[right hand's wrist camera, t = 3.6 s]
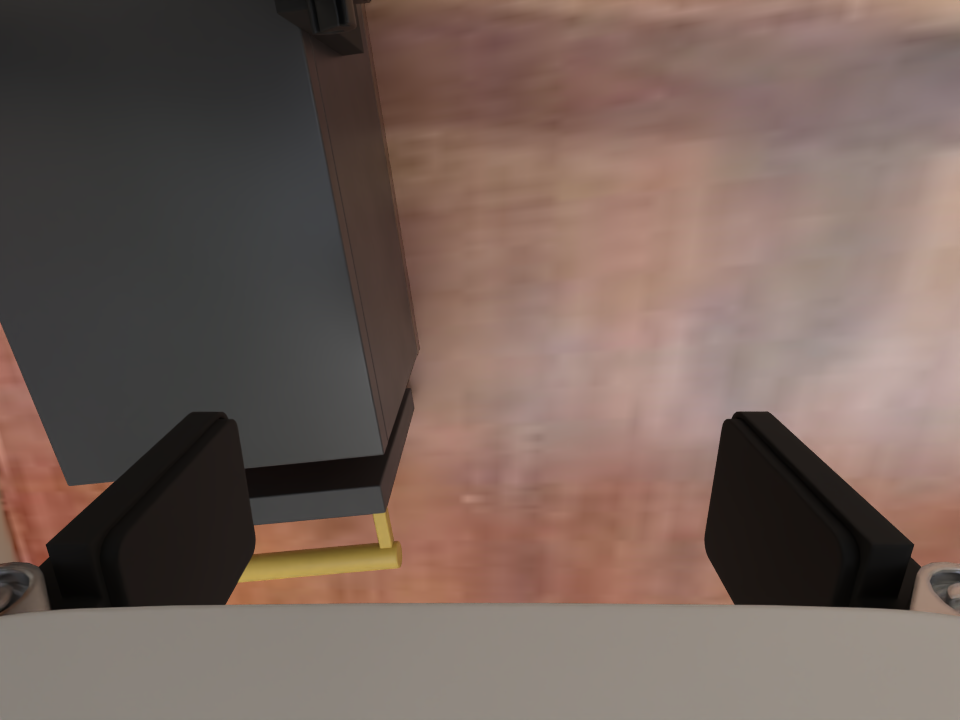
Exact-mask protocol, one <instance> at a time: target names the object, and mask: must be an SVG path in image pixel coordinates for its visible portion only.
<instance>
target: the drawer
mask: <svg viewBox="0 0 960 720" xmlns="http://www.w3.org/2000/svg"><path fill="white" fill-rule="evenodd" d="M413 411H414V403H413V397H412V392H411V388H408V389H405V392H404V395H403V398H402V401H401V404H400V407H399V410H398V413H397V416H396V419H395V422H394V425H393V428H392V431H391V434H390V437H389V440H388V444H387V447H386V450H385V453H384V454H383V455H376V456H366V457H356V458H346V459H336V460H326V461H316V462H306V463H296V464H286V465H276V466H265V467H255V468H245V474H246V481H247V487H248V493H249V499H250V506H251V512H252V518H253V524H254V525H262V524H273V523H283V522H294V521H305V520H315V519H326V518H336V517H347V516H358V515H368V514H373V518H374V523H375V527H376V532H377V537H378V541H379V543H370V544H359V545H349V546H338V547H327V548H316V549H305V550H294V551H283V552H272V553H262V554H253V555H252V558H251V559H250V561H249V563H248V565H247V567H246V568H245V570H244V572H243V574H242V576H241V577H240V579H239V581H238V582H249V581H260V580H272V579H283V578H294V577H305V576H316V575H327V574H339V573H350V572H361V571H372V570H383V569H394V568H400V567H401V563H402V549H401V544H400V542H399V541H394V538H393V533H392V528H391V523H390V518H389V513H388V508H387V505H388V502H389V498H390V495H391V491H392V487H393V484H394V480H395V476H396V473H397V469H398V466H399V462H400V458H401V455H402V451H403V447H404V444H405V440H406V437H407V433H408V429H409V426H410V422H411V418H412V415H413Z"/></svg>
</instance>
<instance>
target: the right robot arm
mask: <svg viewBox="0 0 960 720" xmlns="http://www.w3.org/2000/svg"><path fill="white" fill-rule="evenodd" d="M255 541H256V539H255V531H254V524H253V518H252V512H251V506H250V499H249V493H248V487H247V481H246V474H245V468H244V462H243V456H242V449H241V443H240V437H239V431H238V426H237V423H236V421H235V420H234V419H228V417H227V415H226V414H225V413H224V412H191V413H189V414H188V415H187V416H186V417H185V418H184V419H183V420H181V421H180V422H179V423H178V424H177V425H176V426H175V427H174V428H173V429H172V430H171V431H169V432H168V433H167V434H166V435H165V436H164V437H163V438H162V439H161V440H160V441H159V442H157V443H156V444H155V445H154V446H153V447H152V448H151V449H150V450H149V451H148V452H147V453H145V454H144V455H143V456H142V457H141V458H140V459H139V460H138V461H137V462H136V463H134V464H133V465H132V466H131V467H130V468H129V469H128V470H127V471H126V472H125V473H124V474H122V475H121V476H120V477H119V478H118V479H117V480H116V481H115V482H114V483H113V484H112V485H110V486H109V487H108V488H107V489H106V490H105V491H104V492H103V493H102V494H101V495H100V496H98V497H97V498H96V499H95V500H94V501H93V502H92V503H91V504H90V505H89V506H87V507H86V508H85V509H84V510H83V511H82V512H81V513H80V514H79V515H78V516H77V517H75V518H74V519H73V520H72V521H71V522H70V523H69V524H68V525H67V526H66V527H65V528H63V529H62V530H61V531H60V532H59V533H58V534H57V535H56V536H55V537H54V538H53V539H51V540H50V541H49V542H48V543H47V544H46V547H47V550H48V553H49V558H48V559H47V560H46V561H45V562H44V563H43V564H41V565H40V566H39V567H37V566H35V565H33V564H30V563H22V562H11V563H3V564H0V720H960V564H957V563H949V562H938V563H930V564H927V565H925V566H923V567H921V566H920V565H919V564H917V563H916V562H915V561H914V560H913V559H912V558H911V553H912V550H913V547H914V544H913V543H912V542H911V541H910V540H909V539H907V538H906V537H905V536H904V535H903V534H902V533H901V532H900V531H899V530H898V529H897V528H895V527H894V526H893V525H892V524H891V523H890V522H889V521H888V520H887V519H886V518H885V517H883V516H882V515H881V514H880V513H879V512H878V511H877V510H876V509H875V508H874V507H873V506H871V505H870V504H869V503H868V502H867V501H866V500H865V499H864V498H863V497H862V496H860V495H859V494H858V493H857V492H856V491H855V490H854V489H853V488H852V487H851V486H850V485H848V484H847V483H846V482H845V481H844V480H843V479H842V478H841V477H840V476H839V475H838V474H836V473H835V472H834V471H833V470H832V469H831V468H830V467H829V466H828V465H827V464H826V463H824V462H823V461H822V460H821V459H820V458H819V457H818V456H817V455H816V454H815V453H813V452H812V451H811V450H810V449H809V448H808V447H807V446H806V445H805V444H804V443H803V442H801V441H800V440H799V439H798V438H797V437H796V436H795V435H794V434H793V433H792V432H791V431H789V430H788V429H787V428H786V427H785V426H784V425H783V424H782V423H781V422H780V421H779V420H777V419H776V418H775V417H774V416H773V415H772V414H771V413H769V412H736V413H735V414H734V415H733V417H732V419H726V420H725V421H724V423H723V426H722V431H721V437H720V443H719V449H718V456H717V462H716V468H715V474H714V481H713V487H712V493H711V499H710V506H709V512H708V518H707V524H706V531H705V539H704V541H705V549H706V553H707V555H708V558H709V559H710V561H711V563H712V565H713V567H714V568H715V570H716V572H717V574H718V576H719V577H720V579H721V581H722V583H723V585H724V586H725V588H726V590H727V592H728V594H729V595H730V597H731V599H732V601H733V603H734V604H735V605H695V604H583V603H355V604H266V605H225V604H226V603H227V601H228V599H229V597H230V595H231V594H232V592H233V590H234V588H235V586H236V585H237V583H238V581H239V579H240V577H241V576H242V574H243V572H244V570H245V568H246V567H247V565H248V563H249V561H250V559H251V558H252V555H253V553H254V549H255Z"/></svg>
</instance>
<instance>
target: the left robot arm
mask: <svg viewBox="0 0 960 720" xmlns="http://www.w3.org/2000/svg"><path fill="white" fill-rule="evenodd" d="M274 1H275V6H276V11H277V14H279V15H280V16H282V17H284V18H285V19H287V20H288V21H290V22H291V23H293V24H294V25H296V26H297V27H299V28H300V29H302V30H304V31H305V32H307V33H308V34H309V35H311V36H313V37H314V38H316V39H317V40H319V41H321V42H322V43H324V44H325V45H327V46H328V47H330V48H331V49H333V50H334V51H336V52H337V53H339V54H340V55H342V56H346V55H353V54H361V53H364V50H363V44H362V37H361V31H360V25H359V19H358V13H357V7H356V4H363V3H370V1H371V0H274Z"/></svg>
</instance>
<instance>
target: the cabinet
mask: <svg viewBox="0 0 960 720" xmlns="http://www.w3.org/2000/svg"><path fill="white" fill-rule="evenodd" d="M356 7H357V13H358V19H359V25H360V31H361V37H362V44H363V50H364V53H361V54H353V55H346V56H342V55H340V54H339V53H337V52H336V51H334V50H333V49H331V48H330V47H328V46H327V45H325V44H324V43H322V42H321V41H319V40H317V39H316V38H314V37H313V36H311V35H309V34H308V33H307V32H305V31H304V30H302V29H300V28H299V27H297V26H296V25H294V24H293V23H291V22H290V21H288V20H287V19H285V18H284V17H282V16H280V15H279V14H277V11H276V6H275V1H274V0H0V323H1V325H2V327H3V330H4V332H5V335H6V337H7V339H8V342H9V344H10V347H11V349H12V351H13V354H14V356H15V359H16V361H17V363H18V366H19V368H20V371H21V373H22V375H23V378H24V380H25V383H26V385H27V388H28V390H29V392H30V395H31V397H32V400H33V402H34V404H35V407H36V409H37V412H38V414H39V416H40V419H41V421H42V424H43V426H44V428H45V431H46V433H47V436H48V438H49V440H50V443H51V445H52V448H53V450H54V453H55V455H56V457H57V460H58V462H59V465H60V467H61V469H62V472H63V474H64V477H65V479H66V481H67V484H68V485H69V486H74V485H84V484H94V483H104V482H115V481H116V480H117V479H118V478H119V477H120V476H121V475H122V474H124V473H125V472H126V471H127V470H128V469H129V468H130V467H131V466H132V465H133V464H134V463H136V462H137V461H138V460H139V459H140V458H141V457H142V456H143V455H144V454H145V453H147V452H148V451H149V450H150V449H151V448H152V447H153V446H154V445H155V444H156V443H157V442H159V441H160V440H161V439H162V438H163V437H164V436H165V435H166V434H167V433H168V432H169V431H171V430H172V429H173V428H174V427H175V426H176V425H177V424H178V423H179V422H180V421H181V420H183V419H184V418H185V417H186V416H187V415H188V414H189V413H191V412H224V413H225V414H226V415H227V417H228V419H234V420H235V421H236V423H237V426H238V431H239V437H240V443H241V449H242V456H243V462H244V468H255V467H265V466H276V465H286V464H296V463H306V462H316V461H326V460H336V459H346V458H356V457H366V456H376V455H383V454H384V453H385V450H386V447H387V444H388V440H389V437H390V434H391V431H392V428H393V425H394V422H395V419H396V416H397V413H398V410H399V407H400V404H401V401H402V398H403V395H404V392H405V389H406V386H407V383H408V380H409V377H410V374H411V371H412V368H413V365H414V362H415V359H416V356H417V355H418V353H419V350H420V347H419V341H418V335H417V329H416V323H415V316H414V310H413V304H412V298H411V292H410V285H409V279H408V273H407V267H406V261H405V254H404V248H403V242H402V236H401V229H400V223H399V217H398V211H397V205H396V198H395V192H394V186H393V180H392V174H391V167H390V161H389V155H388V149H387V143H386V136H385V130H384V124H383V118H382V112H381V105H380V99H379V93H378V87H377V80H376V74H375V68H374V62H373V56H372V49H371V43H370V37H369V31H368V25H367V18H366V12H365V6H364V3H363V4H356Z"/></svg>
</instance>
